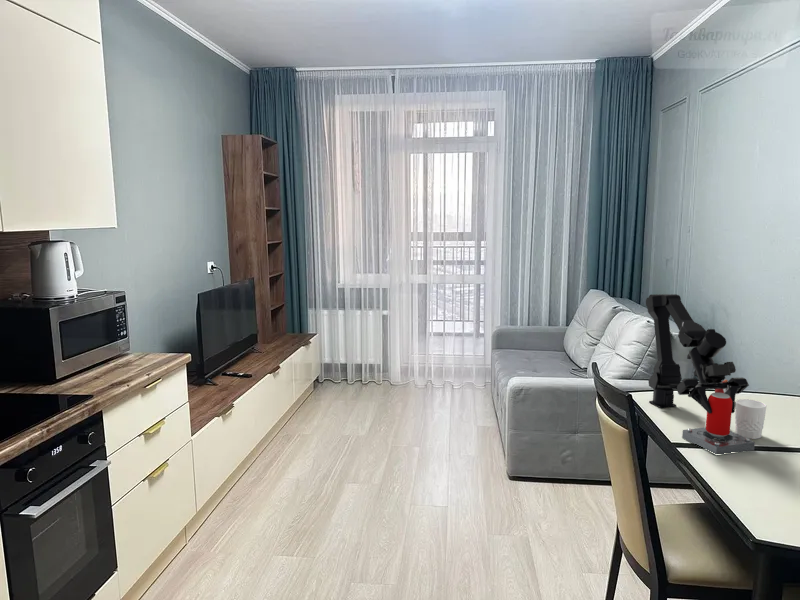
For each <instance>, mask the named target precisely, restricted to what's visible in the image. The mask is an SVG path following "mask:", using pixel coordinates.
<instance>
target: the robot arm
mask: <svg viewBox="0 0 800 600" xmlns="http://www.w3.org/2000/svg"><path fill="white" fill-rule="evenodd" d="M645 306H646V308H647V314H649V316H650V317H651V318H652V319H653V325H654V335H655V344H656V345H655V347H656V356H657V360H656V363H655V365H654V367H653V373H652V375H651V376H650V377H649V379H648V387H650V388H651V389H653V393H652V394H653V395H652V397H653V398H652V400H649V401H648V403H650V404H651V405H653V406H656V407H658V408H660V409H663V408H664V409H665V408H673V407H675V408H676V407H677V404H675V403H674V397H675V396H674V390H676V391H677V394H678V395H679V396H683V395H684V396H685V395H687V396H688V398H691V399H693V400H694V401H695V402H697V403H698V404H699V405H700V407H702V408H703V409H704V411H706V413H707V412H708V413H709V414H711V413H712V410H711V406H710V404H709V401H708V398H709V397H708V396H707V390H715V389H723V391H724V394H727V395H729V396H730V397H731V399H732V413H731V414H734V413H735V412H736V395H738V394H741V393H742V392H743V391H745V390H746V389H747V387H749V386H750V384H749V382H748V379H746V378H745V377H731V378H730V379H729V380H728V382H723V381H724V380H726V377H727V376H729V377H730V376H732V374H734V373H736V371H737V369H736V366H735V363H734V362H733V361H726V362H724V363H723V364H722V363H721V364H719V363H715V360H714V358H715V357H716V356H717V355H718V354H719V353H720V352H721V351H722V349H723V348H724V347H725V346H726V345H727V339H726V337H724V335H722V334H721V333H719V332H716V330H715V329H714V328H708V329H707V330H706V329H705V328H704V327H703V326H702V325H701V324H699V323H698V322H695V321H694V320H693V318H692V317H691V314H690V313H689V311H688V310H687V308H686V306H685V305H684V304H683V302H682V299H681V295H680V294H675V293H674V294H673V293H671V294H670V293H667V294H666V293H665V294H664V293H663V294H661V293H660V294H658V293H657V294H649V295H648V297H646V299H645ZM670 317H671V318H672V320H673V322H674V323H675V325H676V326H677V328H678V334H677V336H678V340H679V343H680V345H682V347H684V348H692V349H691V350H689V351H688V354H687V355H686V356H687V357H686V359H687V360H691V364H692V365H693V368H694V371H693V372H692V373H693V375H694V376H696V377H697V378H694V377H693V378H687V377H686V378H683V379H682V377H683V376H682V373H681V365H680V364H679V363H676V362H675V361H674V356H673V347H672V339H671V338H672V336H671V328H670Z"/></svg>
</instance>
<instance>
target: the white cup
mask: <svg viewBox="0 0 800 600" xmlns="http://www.w3.org/2000/svg"><path fill="white" fill-rule="evenodd" d="M766 411H767V404H766V403H764V402H762V401H760V400H755V399H749V398H748V399H747V398H739V399H737V400H736V399H735V412H734V413H735V415H734V416H735V418H734V419H735V420H734V421H735V431H734V433H736V434H739V435H741V436H743V437H745V438H749V439H750V440H756V439H758V440H759V439H761V438H762V435H763V429H764V424H765V420H766V419H765V418H766V414H767V413H766Z"/></svg>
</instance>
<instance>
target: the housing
mask: <svg viewBox="0 0 800 600" xmlns="http://www.w3.org/2000/svg"><path fill="white" fill-rule="evenodd" d="M681 435H682V436H681V438H682V439H683V438H684V440H685V439H686V440H685V441H687V440H688V442H689V441H690V442H689V443H691V442H692V443H691V444H693V443H694V444H693V445H695V444H697V445H699V446H701V447H703V448H705V449H707V450H709V451H711V452H713V453H715V454H724V453H731V452H738V453H744V452H743V451H746V452H752V450H753V451H755V445H756V442H755V441H754V440H753V439H750V438H745V437H743V436H741V435H739V434H736V432H735V431H732V430H730V433H729V434H728V435H727V436H724V437H717V436H713V435H711V434H709V433H708V432H707V431H706V426H704V427H697V428H695V427H694V428H689V427H688V428H687V429H682V434H681ZM697 445H696V446H697ZM699 446H698V447H699ZM701 447H700V448H701ZM731 454H732V453H731ZM724 455H725V454H724Z"/></svg>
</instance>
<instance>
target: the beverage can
mask: <svg viewBox="0 0 800 600" xmlns="http://www.w3.org/2000/svg"><path fill="white" fill-rule="evenodd" d="M707 398H708V401H709V404H710V406H711V410H712V413H711V414H709V413H708V412H707V411H706V419H705V427H706V431H707V432H708V433H709V434H711V435H713V436H717V437H724V436H727V435H728V434H729V433H730V431H731V423H732V414H733V413H732V399H731V397H730V396H729V395H727V394H724V393H717V392H716V393H715V392H713V393H711V394H709V396H708V397H707Z"/></svg>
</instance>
